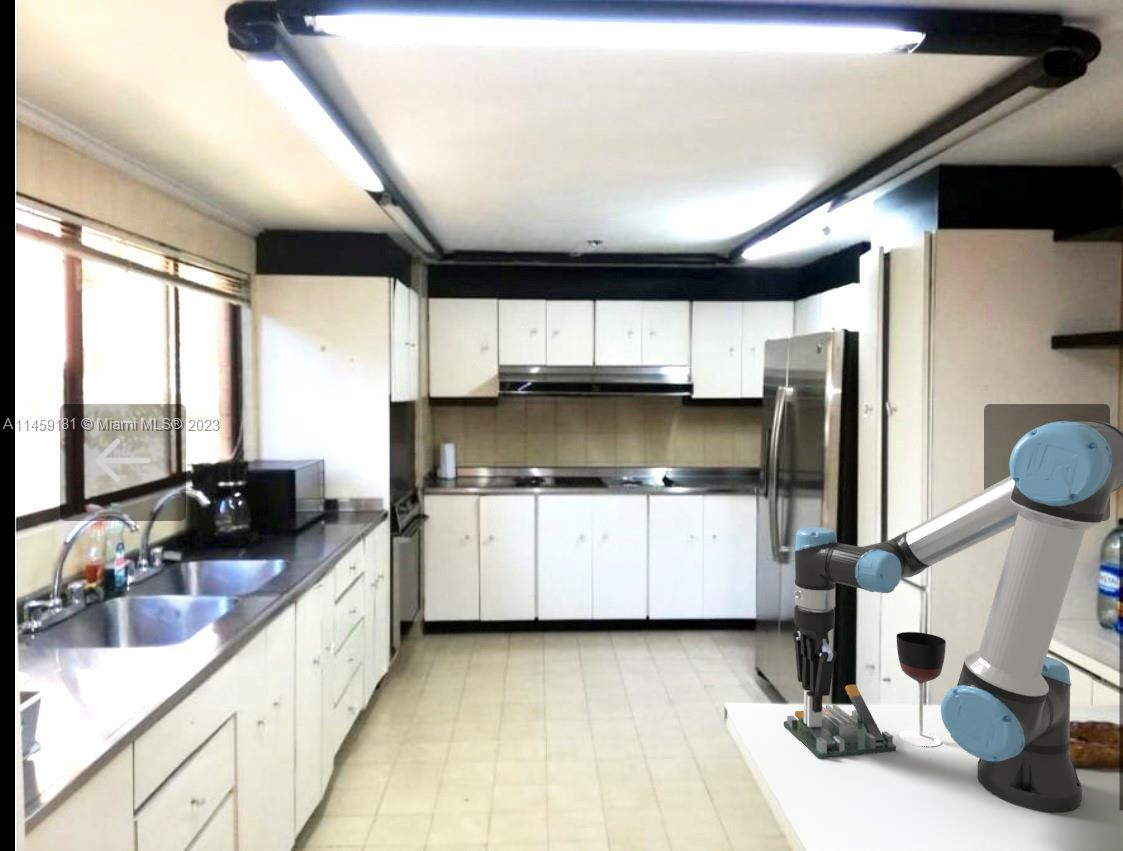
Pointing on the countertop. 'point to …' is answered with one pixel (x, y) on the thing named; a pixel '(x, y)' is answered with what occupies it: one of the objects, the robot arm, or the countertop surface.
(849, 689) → the lever
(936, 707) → the countertop surface
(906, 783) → the countertop surface
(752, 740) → the countertop surface
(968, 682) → the robot arm
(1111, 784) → the countertop surface
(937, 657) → the wineglass
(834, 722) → the circuit board
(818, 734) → the lever
